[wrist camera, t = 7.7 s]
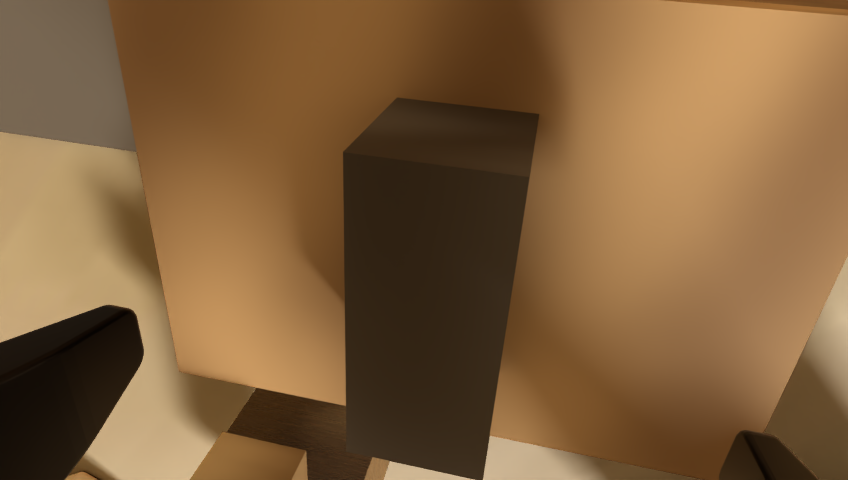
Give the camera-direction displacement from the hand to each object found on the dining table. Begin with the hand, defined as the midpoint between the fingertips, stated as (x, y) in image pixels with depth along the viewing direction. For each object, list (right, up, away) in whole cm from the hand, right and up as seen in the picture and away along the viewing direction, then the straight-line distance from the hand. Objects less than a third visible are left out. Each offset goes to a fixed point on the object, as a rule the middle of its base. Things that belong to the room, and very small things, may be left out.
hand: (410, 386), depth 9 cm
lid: (+1, +3, +5) cm, 6 cm away
